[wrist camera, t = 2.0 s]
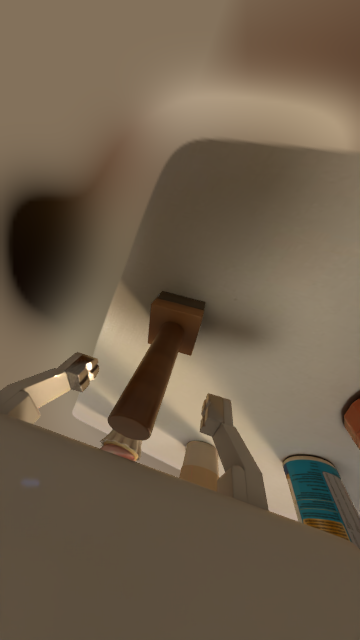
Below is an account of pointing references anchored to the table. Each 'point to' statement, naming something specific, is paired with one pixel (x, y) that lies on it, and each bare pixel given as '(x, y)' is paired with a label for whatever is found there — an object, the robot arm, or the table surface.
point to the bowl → (353, 421)
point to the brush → (157, 364)
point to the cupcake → (122, 446)
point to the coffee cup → (201, 465)
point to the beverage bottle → (321, 497)
